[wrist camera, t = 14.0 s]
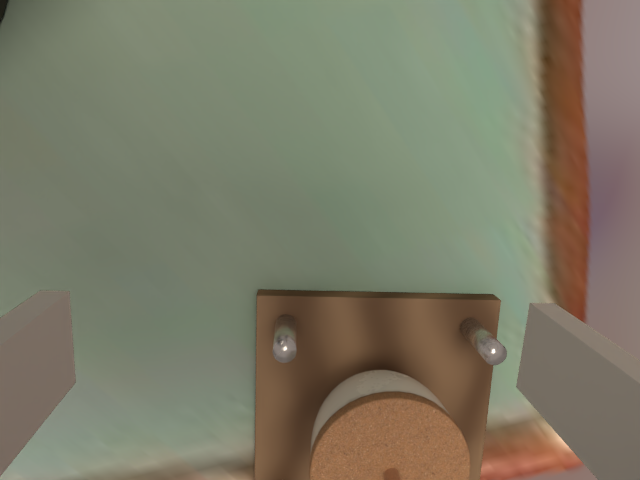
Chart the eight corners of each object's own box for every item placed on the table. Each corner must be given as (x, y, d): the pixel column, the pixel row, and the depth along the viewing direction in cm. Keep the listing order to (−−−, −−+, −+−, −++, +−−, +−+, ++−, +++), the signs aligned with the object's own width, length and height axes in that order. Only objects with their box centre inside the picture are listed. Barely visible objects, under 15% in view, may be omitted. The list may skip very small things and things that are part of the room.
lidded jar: (293, 363, 38) (293, 434, 29) (426, 334, 38) (467, 395, 29) (321, 480, 41) (329, 579, 31) (447, 452, 41) (491, 543, 32)
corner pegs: (271, 496, 41) (268, 545, 36) (275, 314, 37) (272, 340, 33) (461, 496, 42) (483, 543, 37) (480, 317, 38) (507, 343, 34)
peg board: (255, 499, 42) (254, 512, 41) (258, 289, 39) (256, 295, 37) (469, 498, 43) (476, 510, 42) (493, 294, 40) (500, 300, 38)
